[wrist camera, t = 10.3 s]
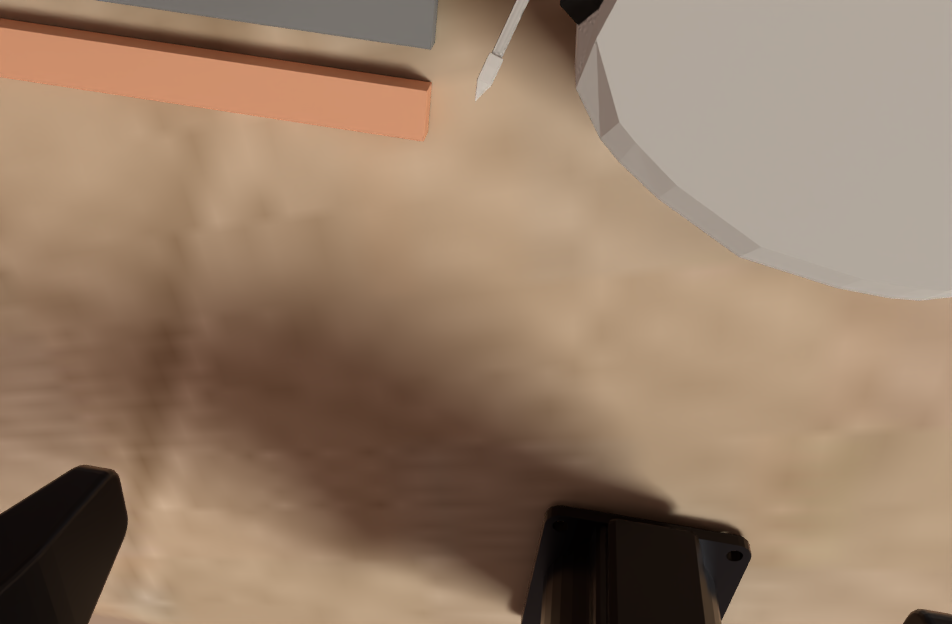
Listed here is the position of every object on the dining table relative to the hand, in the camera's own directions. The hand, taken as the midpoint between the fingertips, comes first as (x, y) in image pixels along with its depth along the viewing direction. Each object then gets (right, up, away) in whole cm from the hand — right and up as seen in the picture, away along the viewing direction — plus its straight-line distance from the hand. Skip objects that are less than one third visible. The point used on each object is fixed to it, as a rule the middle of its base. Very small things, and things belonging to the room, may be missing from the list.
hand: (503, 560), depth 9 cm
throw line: (-11, +9, +10) cm, 18 cm away
